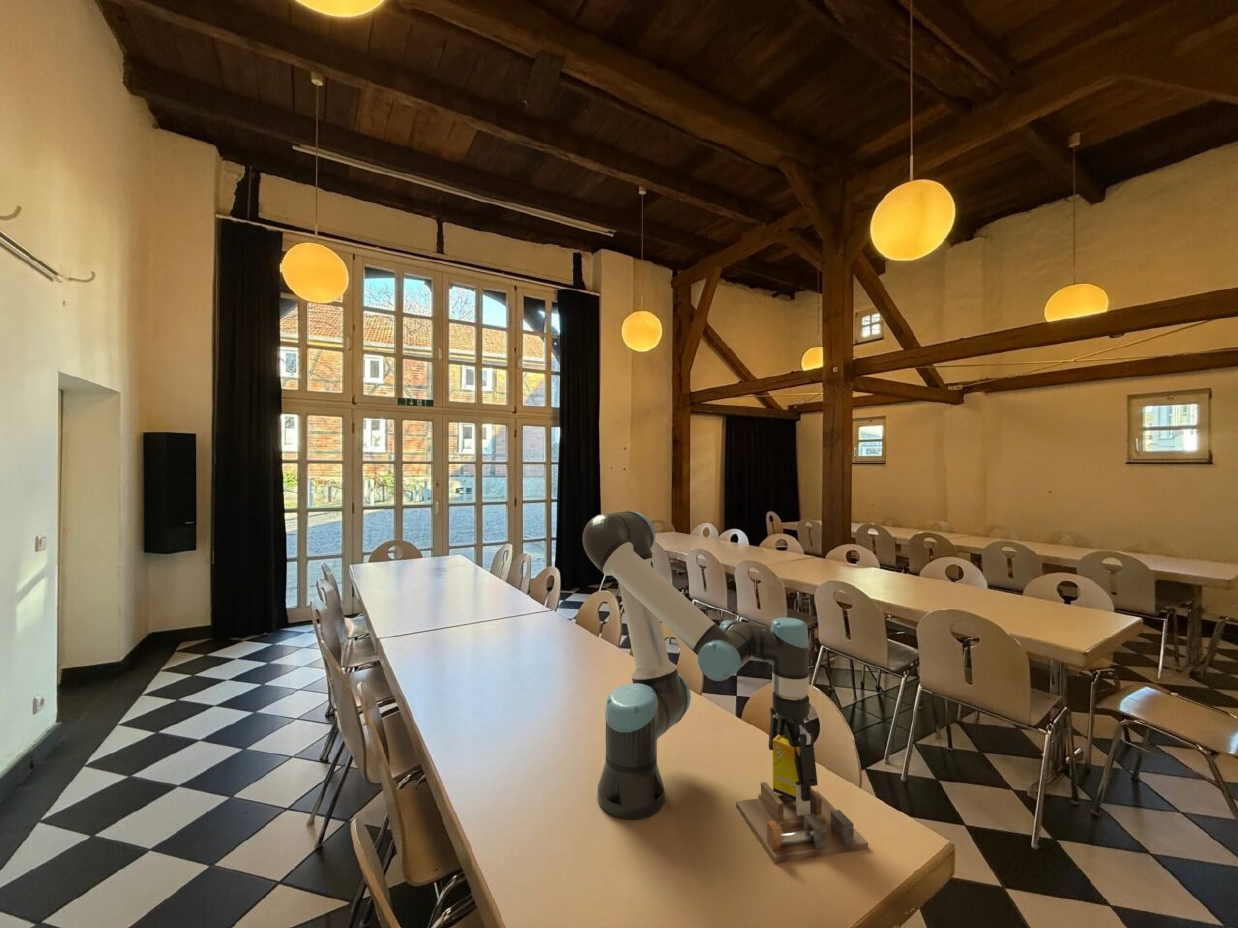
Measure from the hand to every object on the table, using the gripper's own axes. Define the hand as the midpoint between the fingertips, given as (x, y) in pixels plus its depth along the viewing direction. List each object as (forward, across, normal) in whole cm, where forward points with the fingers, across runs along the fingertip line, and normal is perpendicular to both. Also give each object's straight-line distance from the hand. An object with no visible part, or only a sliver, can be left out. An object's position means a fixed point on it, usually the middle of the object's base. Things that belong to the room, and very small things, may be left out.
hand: (791, 800), depth 110 cm
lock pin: (+2, -9, +4) cm, 10 cm away
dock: (+4, -3, 0) cm, 5 cm away
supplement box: (-2, 0, 0) cm, 2 cm away
